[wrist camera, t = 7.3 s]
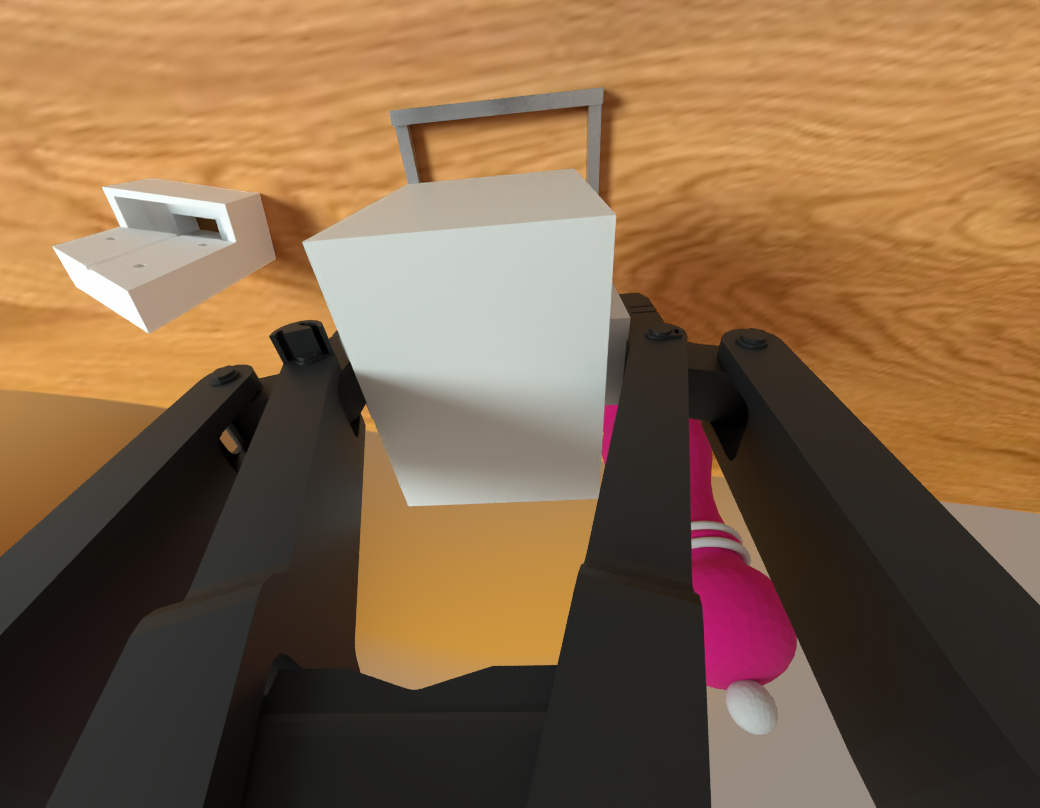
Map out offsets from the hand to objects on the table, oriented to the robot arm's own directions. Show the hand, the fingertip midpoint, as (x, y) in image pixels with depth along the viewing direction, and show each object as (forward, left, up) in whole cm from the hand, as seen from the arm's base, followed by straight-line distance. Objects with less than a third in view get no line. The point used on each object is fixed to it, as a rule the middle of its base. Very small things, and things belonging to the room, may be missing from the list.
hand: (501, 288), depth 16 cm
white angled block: (-2, -17, -9) cm, 19 cm away
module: (0, 0, 0) cm, 0 cm away
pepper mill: (+14, +9, -9) cm, 19 cm away
